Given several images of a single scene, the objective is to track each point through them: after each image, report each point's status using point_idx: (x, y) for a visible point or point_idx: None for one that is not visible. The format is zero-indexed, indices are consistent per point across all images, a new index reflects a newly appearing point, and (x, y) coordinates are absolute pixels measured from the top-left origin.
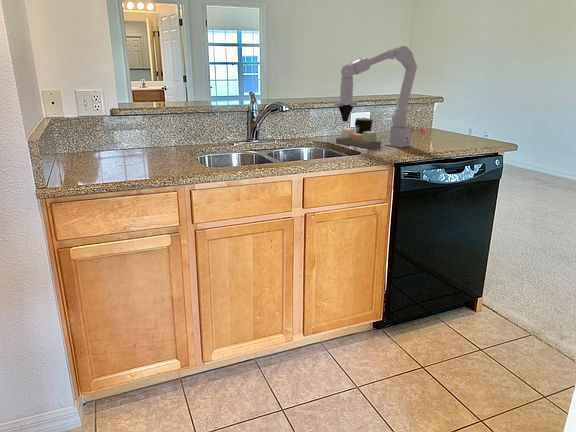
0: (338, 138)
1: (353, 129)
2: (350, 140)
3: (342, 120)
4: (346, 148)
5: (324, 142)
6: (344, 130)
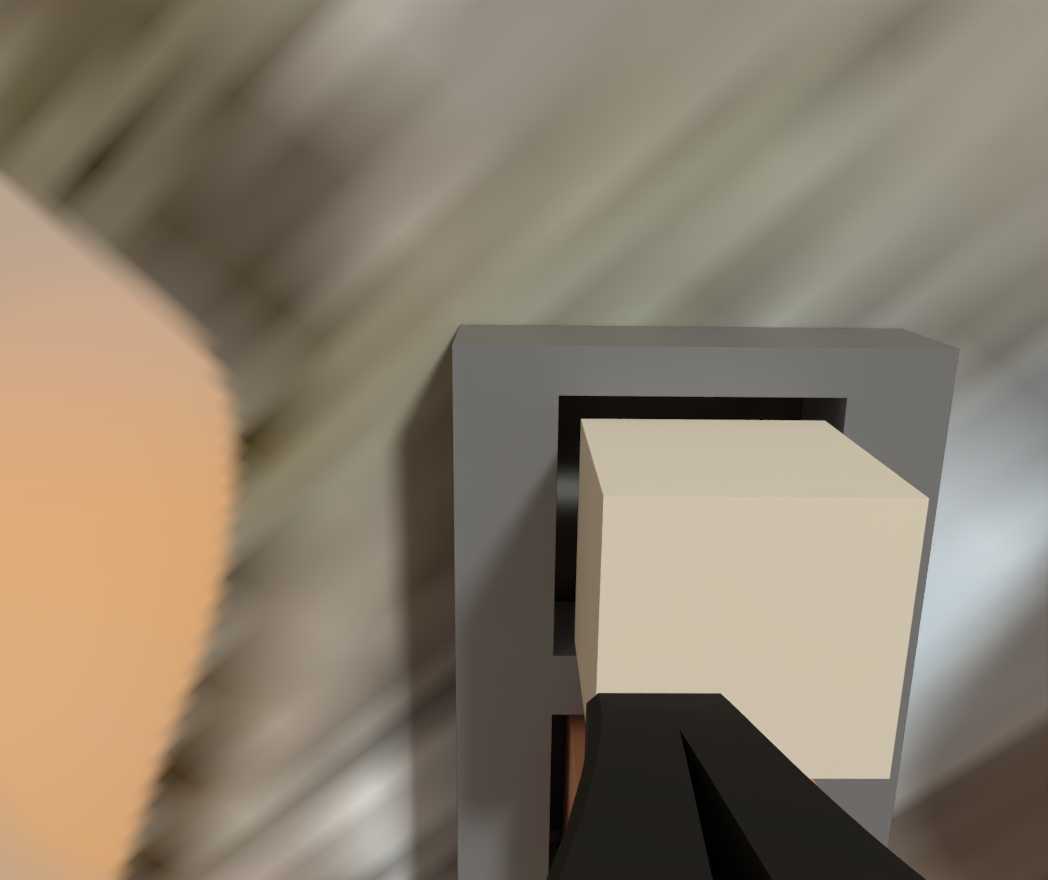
0: (454, 429)
1: (831, 774)
2: (457, 787)
3: (588, 715)
4: (170, 857)
5: (274, 95)
6: (596, 601)
